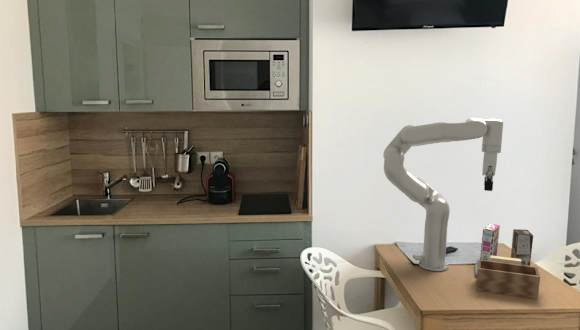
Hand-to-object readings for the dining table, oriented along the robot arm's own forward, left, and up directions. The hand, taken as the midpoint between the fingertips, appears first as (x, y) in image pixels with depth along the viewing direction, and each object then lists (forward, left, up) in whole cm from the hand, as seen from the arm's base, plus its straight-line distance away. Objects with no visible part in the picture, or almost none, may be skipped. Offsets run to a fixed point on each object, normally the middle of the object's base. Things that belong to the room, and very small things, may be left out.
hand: (488, 188), depth 214 cm
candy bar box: (+3, +11, -36) cm, 38 cm away
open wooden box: (+9, -19, -36) cm, 42 cm away
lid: (+9, -5, -37) cm, 38 cm away
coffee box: (+16, +9, -36) cm, 41 cm away
